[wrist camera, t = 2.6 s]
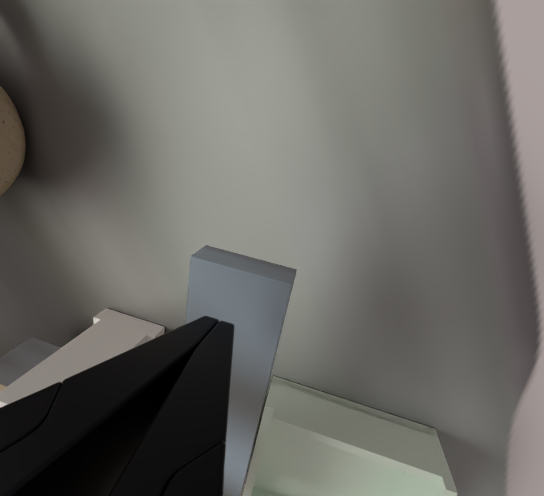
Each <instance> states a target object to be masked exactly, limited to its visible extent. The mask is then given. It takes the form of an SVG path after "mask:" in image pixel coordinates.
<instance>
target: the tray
mask: <svg viewBox="0 0 544 496" xmlns="http://www.w3.org/2000/svg"><path fill="white" fill-rule="evenodd" d="M457 495H458V492H457V489H456V486H455V483H454V481H453V478H452V475H451V472H450V469H449V466H448V464H447V461H446V458H445V455H444V452H443V449H442V447H441V444H440V441H439V438H438V435H437V432H436V430H435V429H434V428H431V427H428V426H425V425H422V424H419V423H416V422H413V421H410V420H407V419H404V418H401V417H397V416H394V415H391V414H388V413H385V412H382V411H379V410H376V409H373V408H370V407H367V406H364V405H361V404H358V403H355V402H352V401H349V400H346V399H343V398H339V397H336V396H333V395H330V394H327V393H324V392H321V391H318V390H315V389H312V388H309V387H306V386H303V385H300V384H297V383H294V382H291V381H288V380H285V379H282V378H278V377H275V376H273V379H272V382H271V386H270V389H269V393H268V396H267V400H266V404H265V407H264V411H263V415H262V419H261V423H260V427H259V431H258V435H257V439H256V443H255V447H254V451H253V455H252V459H251V463H250V467H249V471H248V475H247V479H246V483H245V487H244V491H243V495H242V496H457Z"/></svg>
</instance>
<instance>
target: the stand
mask: <svg viewBox="0 0 544 496" xmlns="http://www.w3.org/2000/svg"><path fill="white" fill-rule="evenodd" d="M93 321H94V325H92V326H91V327H90V328H88V329H87V330H85V331H84V332H83V333H81V334H80V335H79V336H77V337H76V338H74V339H73V340H72V341H70V342H69V343H67V344H66V345H65V346H63V347H62V348H60V349H59V350H58V351H56V352H55V353H53V354H52V355H51V356H49V357H48V358H46V359H45V360H44V361H42V362H41V363H39V364H38V365H37V366H35V367H34V368H32V369H31V370H30V371H28V372H27V373H25V374H24V375H23V376H21V377H20V378H18V379H17V380H16V381H14V382H13V383H11V384H10V385H9V386H7V387H6V388H4V389H3V390H2V391H0V407H3V406H5V405H7V404H10V403H12V402H14V401H17V400H19V399H21V398H23V397H26V396H28V395H30V394H33V393H35V392H37V391H39V390H42V389H44V388H46V387H48V386H50V385H53V384H55V383H57V382H63V380H64V379H66V378H68V377H71V376H73V375H75V374H77V373H79V372H82V371H84V370H86V369H88V368H90V367H93V366H95V365H97V364H99V363H101V362H104V361H106V360H108V359H110V358H112V357H115V356H117V355H119V354H121V353H123V352H126V351H128V350H130V349H132V348H134V347H137V346H139V345H141V344H143V343H145V342H148V341H150V340H152V339H154V338H156V337H159V336H161V335H163V334H164V330H165V327H163V326H160V325H157V324H154V323H151V322H148V321H145V320H142V319H139V318H135V317H132V316H129V315H126V314H123V313H120V312H117V311H114V310H110V309H107V308H106V309H105V310H103V311H102V312H100V313H99V314H97V315H96V316H94V317H93Z"/></svg>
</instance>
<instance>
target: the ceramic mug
mask: <svg viewBox="0 0 544 496" xmlns="http://www.w3.org/2000/svg"><path fill="white" fill-rule="evenodd" d="M25 148H26V146H25V134H24V129H23V126H22V123H21V120H20V117H19V115H18V112H17V110H16V108H15V106H14V104H13V102H12V101H11V99H10V97H9V96H8V94H7V93H6V92H5V91H4V89H3V88H2V87H1V86H0V196H1V195H2V194H3V193H4V192H5V191H7V190H8V189H9V188H10V186H11V185H12V184H13V182H14V181H15V179H16V178H17V176H18V174H19V173H20V170H21V168H22V166H23V163H24V158H25Z"/></svg>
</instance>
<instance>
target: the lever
mask: <svg viewBox="0 0 544 496" xmlns="http://www.w3.org/2000/svg"><path fill="white" fill-rule="evenodd" d="M295 274H296V269H292V268H289V267H285V266H281V265H278V264H274V263H270V262H266V261H263V260H259V259H255V258H251V257H248V256H244V255H240V254H237V253H233V252H229V251H225V250H222V249H218V248H214V247H210V246H207V245H206V246H205V247H203V248H202V249H200V250H199V251H198V252H196V253H195V254H193V255H192V256H191V261H190V273H189V285H188V297H187V309H186V321H185V324H187V323H189V322H192V321H194V320H196V319H198V318H201V317H203V316H210V317H213V318H216V319H218V320H219V321H226V322H229V323H232V324H234V326H235V328H234V342H233V355H232V369H231V382H230V396H229V409H228V423H227V436H226V453H225V466H224V490H223V496H241V493H242V489H243V485H244V481H245V477H246V473H247V469H248V465H249V461H250V457H251V453H252V449H253V445H254V441H255V437H256V433H257V428H258V424H259V420H260V416H261V412H262V408H263V404H264V400H265V396H266V392H267V388H268V384H269V380H270V376H271V372H272V368H273V364H274V359H275V355H276V351H277V347H278V343H279V339H280V335H281V331H282V327H283V323H284V319H285V315H286V311H287V307H288V303H289V299H290V295H291V291H292V286H293V282H294V278H295ZM60 348H61V347H58V346H55V345H52V344H49V343H47V342H44V341H41V340H38V339H35V338H32V337H31V338H30V339H28V340H26V341H25V342H23V343H21V344H20V345H18V346H17V347H15V348H13V349H12V350H10V351H8V352H7V353H5V354H3V355H2V356H0V391H2V390H3V389H4V388H6V387H7V386H9V385H10V384H11V383H13V382H14V381H16V380H17V379H18V378H20V377H21V376H23V375H24V374H25V373H27V372H28V371H30V370H31V369H32V368H34V367H35V366H37V365H38V364H39V363H41V362H42V361H44V360H45V359H46V358H48V357H49V356H51V355H52V354H53V353H55V352H56V351H58V350H59V349H60Z"/></svg>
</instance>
